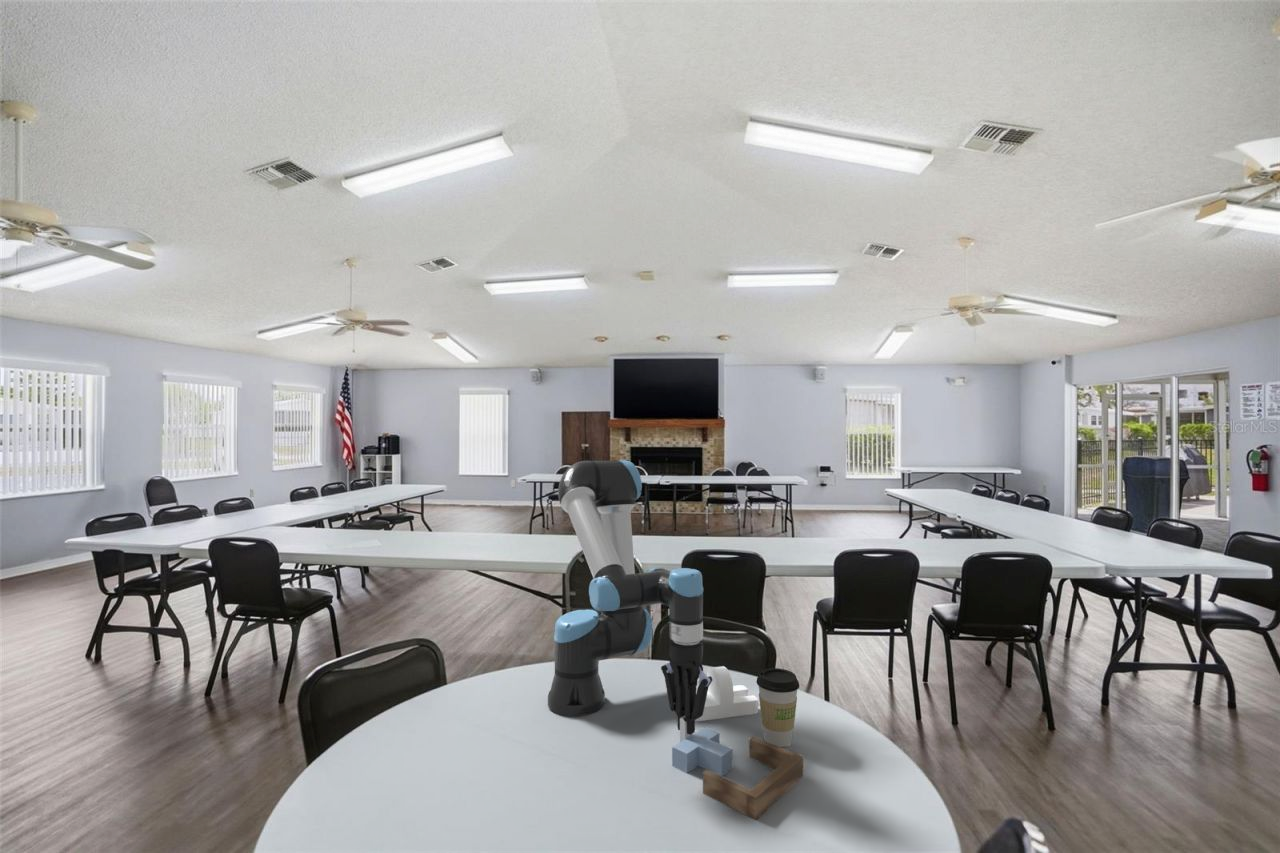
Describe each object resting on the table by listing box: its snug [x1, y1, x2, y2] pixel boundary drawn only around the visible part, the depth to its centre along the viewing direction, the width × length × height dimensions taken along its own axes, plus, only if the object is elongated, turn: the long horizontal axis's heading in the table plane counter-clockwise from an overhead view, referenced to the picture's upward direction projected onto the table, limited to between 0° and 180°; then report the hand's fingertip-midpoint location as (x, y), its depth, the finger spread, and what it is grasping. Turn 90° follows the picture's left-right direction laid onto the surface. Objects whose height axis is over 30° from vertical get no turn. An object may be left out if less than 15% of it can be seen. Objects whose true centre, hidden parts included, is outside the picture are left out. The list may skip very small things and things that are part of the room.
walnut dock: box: [702, 736, 804, 821], centre depth 118 cm, size 12×19×4 cm, turn 138°
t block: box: [671, 726, 733, 777], centre depth 126 cm, size 10×12×4 cm
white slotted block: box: [695, 665, 759, 722], centre depth 151 cm, size 10×18×11 cm, turn 105°
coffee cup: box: [756, 667, 800, 748], centre depth 135 cm, size 10×10×15 cm
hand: (686, 746), depth 129 cm, fingers closed
